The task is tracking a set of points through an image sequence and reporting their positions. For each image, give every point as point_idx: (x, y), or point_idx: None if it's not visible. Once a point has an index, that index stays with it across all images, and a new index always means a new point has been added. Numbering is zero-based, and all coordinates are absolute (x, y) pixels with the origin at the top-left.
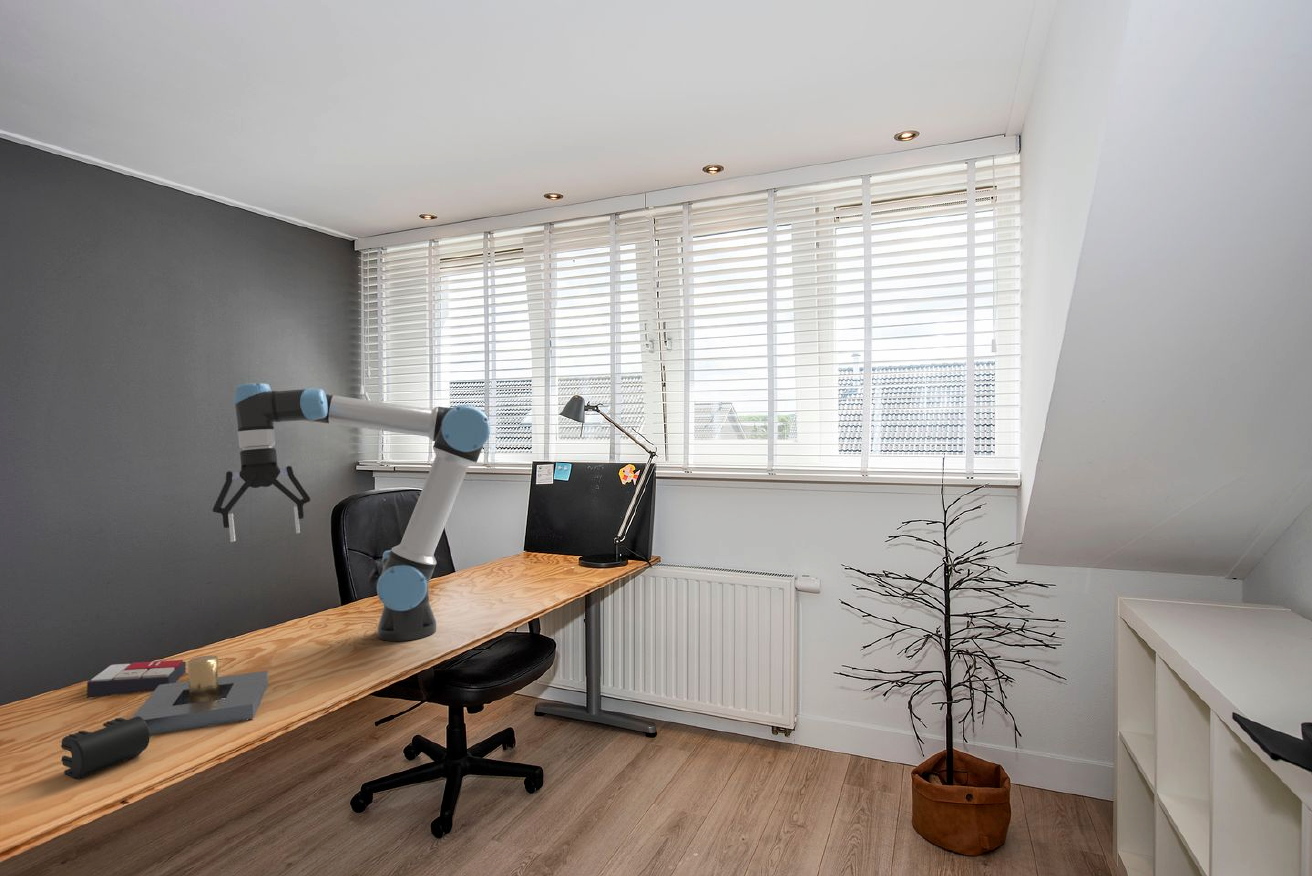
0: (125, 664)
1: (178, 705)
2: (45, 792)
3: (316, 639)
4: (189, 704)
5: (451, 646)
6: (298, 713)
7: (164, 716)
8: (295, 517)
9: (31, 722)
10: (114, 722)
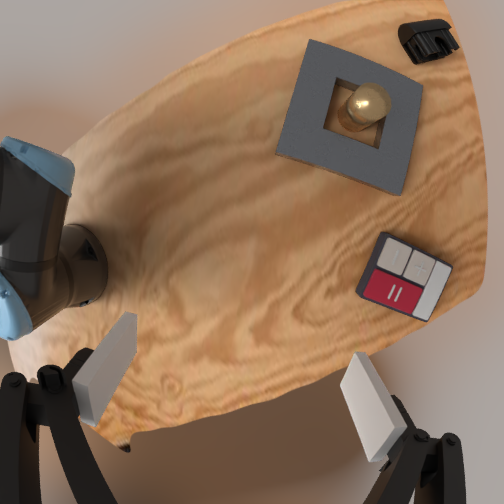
0: (417, 313)
1: None
2: None
3: (181, 327)
4: None
5: None
6: (261, 33)
7: (394, 72)
8: (108, 350)
9: (478, 216)
10: (432, 44)
